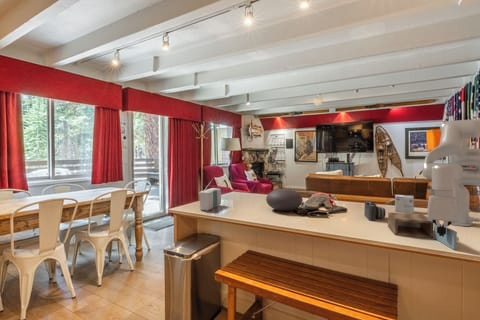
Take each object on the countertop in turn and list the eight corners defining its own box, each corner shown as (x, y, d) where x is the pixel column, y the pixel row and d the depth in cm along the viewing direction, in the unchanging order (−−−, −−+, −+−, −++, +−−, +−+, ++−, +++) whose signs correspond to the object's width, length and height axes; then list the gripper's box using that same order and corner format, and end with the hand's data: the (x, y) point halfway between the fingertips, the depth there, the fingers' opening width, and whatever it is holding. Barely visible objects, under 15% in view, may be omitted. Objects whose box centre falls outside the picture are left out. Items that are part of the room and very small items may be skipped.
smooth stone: (276, 205, 201) (276, 185, 200) (308, 209, 186) (308, 188, 186) (259, 211, 181) (259, 189, 180) (293, 216, 166) (293, 193, 166)
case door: (433, 237, 124) (434, 222, 124) (439, 237, 124) (439, 222, 123) (453, 249, 110) (454, 231, 109) (459, 249, 109) (460, 232, 109)
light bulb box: (413, 211, 178) (413, 195, 177) (413, 213, 172) (414, 197, 171) (395, 209, 183) (395, 194, 183) (394, 211, 178) (394, 195, 177)
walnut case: (422, 229, 138) (422, 214, 138) (433, 238, 125) (433, 221, 125) (387, 227, 143) (388, 212, 143) (395, 235, 129) (395, 218, 129)
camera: (388, 222, 153) (389, 205, 152) (368, 221, 155) (368, 204, 155) (381, 216, 167) (381, 200, 166) (362, 215, 169) (362, 199, 169)
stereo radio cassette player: (208, 211, 182) (208, 182, 181) (198, 210, 184) (197, 182, 184) (221, 205, 201) (221, 179, 200) (211, 204, 204) (211, 178, 203)
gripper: (421, 193, 114) (420, 235, 115) (466, 196, 106) (465, 241, 107) (421, 190, 121) (420, 230, 121) (463, 193, 112) (462, 236, 113)
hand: (441, 235), depth 114 cm, fingers closed
